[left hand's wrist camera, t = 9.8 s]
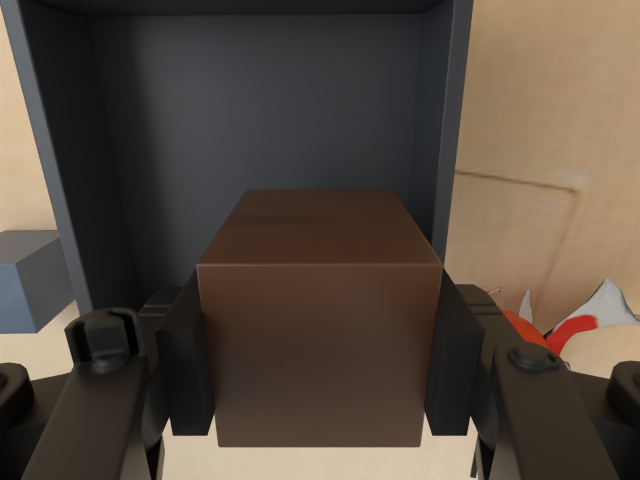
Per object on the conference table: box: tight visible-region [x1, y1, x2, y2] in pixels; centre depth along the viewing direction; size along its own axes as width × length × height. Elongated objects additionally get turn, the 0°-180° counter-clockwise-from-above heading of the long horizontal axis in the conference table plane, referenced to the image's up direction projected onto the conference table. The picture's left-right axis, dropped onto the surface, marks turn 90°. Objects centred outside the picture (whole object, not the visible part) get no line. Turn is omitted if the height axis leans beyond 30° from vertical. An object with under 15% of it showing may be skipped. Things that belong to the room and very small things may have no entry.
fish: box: [487, 277, 640, 371], centre depth 29 cm, size 11×16×10 cm
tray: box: [0, 0, 473, 316], centre depth 14 cm, size 26×14×5 cm, turn 0°
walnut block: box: [196, 189, 443, 447], centre depth 12 cm, size 5×5×6 cm
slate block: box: [0, 230, 76, 334], centre depth 28 cm, size 5×5×6 cm
